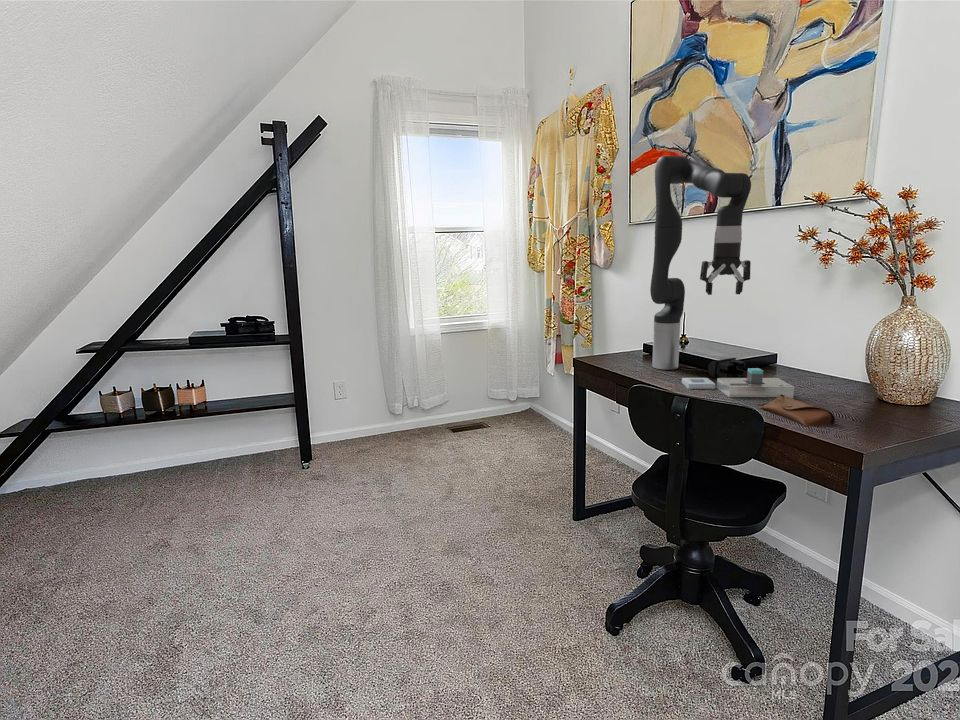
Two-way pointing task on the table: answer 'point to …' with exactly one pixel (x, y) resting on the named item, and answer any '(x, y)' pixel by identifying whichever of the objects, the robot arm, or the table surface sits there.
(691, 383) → the holster
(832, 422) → the sunglasses case
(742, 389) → the port panel
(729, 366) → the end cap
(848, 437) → the table surface
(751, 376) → the plug
